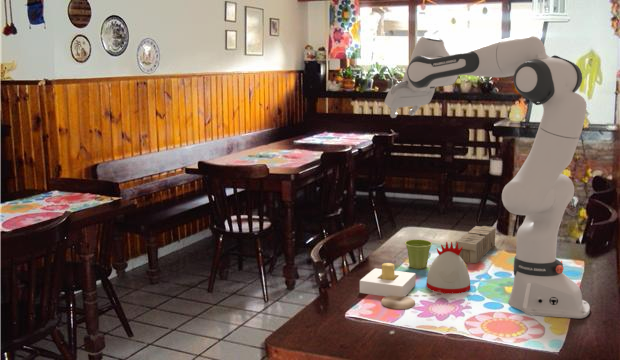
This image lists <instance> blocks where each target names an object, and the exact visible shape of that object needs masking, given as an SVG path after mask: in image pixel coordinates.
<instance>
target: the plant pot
mask: <svg viewBox="0 0 620 360" xmlns="http://www.w3.org/2000/svg"><path fill="white" fill-rule="evenodd" d="M404 245H405V246H406V249H407V250H406V251H407V256H408V258H407V259H408V264H409V265H408V266H409V267H410V268H413V269H417V270H418V269H419V270H421V269H424V268H427V267H428V261H429V260H428V259H429V255H430V254H429V253H430V250H431V247H432V245H433V242H432V241H429V240H425V239H409V240H406V241H405V242H404Z"/></svg>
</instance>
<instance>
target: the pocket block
mask: <svg viewBox="0 0 620 360" xmlns="http://www.w3.org/2000/svg"><path fill="white" fill-rule="evenodd" d="M416 274H417V273H415V272H408V271H407V272H406V271H401V270H400V271H399V270H394V281H393V280H385V279H382V268H377V267H375V268H373V269H372V270H371V271H370V272H368V273H367V274H365V276H363V277H362V278H361V279H359V293H360V294H365V295H366V294H367V295H373V296H380V297H388V296H399V297H403V296H406V297H407V295H408V294H409V293H410V291H411V290H413V289H414V287H415V286H416V280H417V278H416V276H417V275H416Z"/></svg>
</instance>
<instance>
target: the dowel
mask: <svg viewBox="0 0 620 360" xmlns="http://www.w3.org/2000/svg"><path fill="white" fill-rule="evenodd" d="M381 269H382V279H385V280H393V281H394V271H395V264H394V263H391V262H386V263H385V262H384V263H382V264H381Z"/></svg>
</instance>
